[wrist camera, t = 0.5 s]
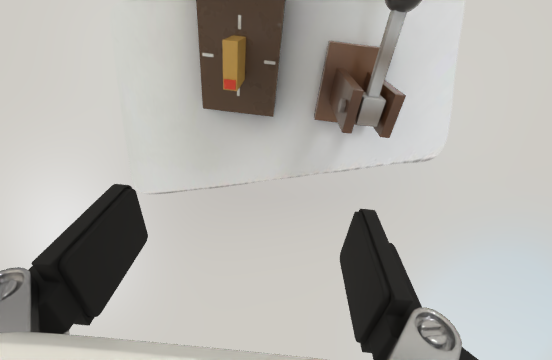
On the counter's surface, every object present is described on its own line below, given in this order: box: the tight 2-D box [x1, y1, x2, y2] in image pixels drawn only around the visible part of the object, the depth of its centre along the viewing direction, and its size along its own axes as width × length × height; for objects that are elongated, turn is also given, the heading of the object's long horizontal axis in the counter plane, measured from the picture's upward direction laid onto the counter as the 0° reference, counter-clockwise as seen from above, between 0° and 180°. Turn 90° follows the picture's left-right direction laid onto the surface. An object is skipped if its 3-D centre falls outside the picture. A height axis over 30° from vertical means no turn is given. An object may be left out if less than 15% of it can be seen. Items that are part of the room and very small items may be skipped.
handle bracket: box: [314, 41, 406, 138], centre depth 30 cm, size 10×8×12 cm
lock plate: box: [196, 0, 285, 117], centre depth 32 cm, size 14×10×2 cm
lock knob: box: [222, 35, 246, 91], centre depth 29 cm, size 5×2×6 cm, turn 174°
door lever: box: [355, 0, 422, 127], centre depth 23 cm, size 13×3×3 cm, turn 174°
